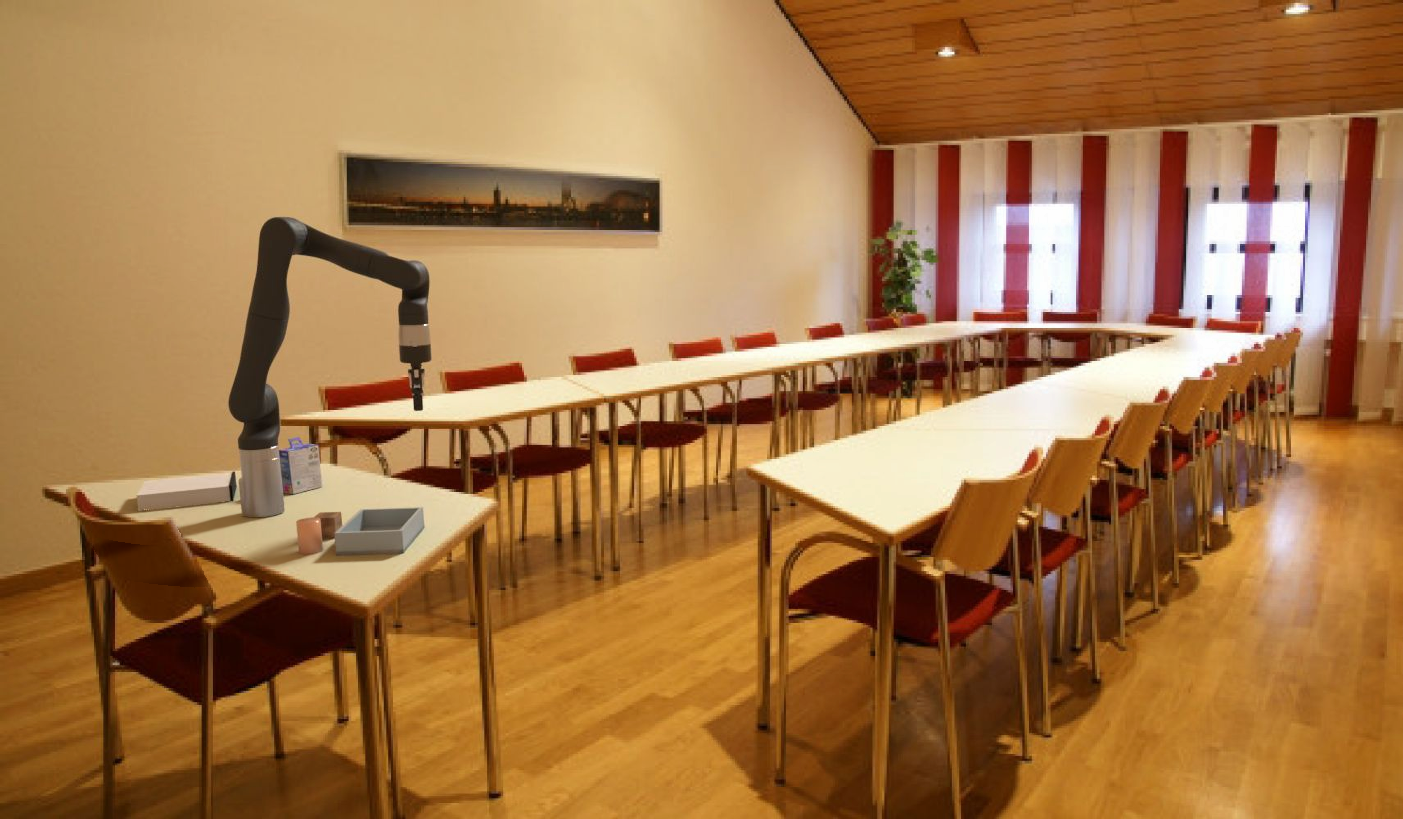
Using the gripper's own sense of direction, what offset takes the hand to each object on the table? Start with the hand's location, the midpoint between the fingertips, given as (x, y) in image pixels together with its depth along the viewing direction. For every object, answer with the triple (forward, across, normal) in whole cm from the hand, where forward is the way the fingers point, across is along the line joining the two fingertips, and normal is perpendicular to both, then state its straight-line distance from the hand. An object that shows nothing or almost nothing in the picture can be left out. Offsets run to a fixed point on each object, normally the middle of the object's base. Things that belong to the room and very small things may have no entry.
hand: (418, 407), depth 249 cm
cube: (+27, +15, -22) cm, 37 cm away
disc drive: (+28, -36, -61) cm, 76 cm away
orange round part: (+27, +26, -24) cm, 45 cm away
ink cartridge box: (+27, -35, -32) cm, 55 cm away
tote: (+26, +24, -9) cm, 37 cm away
